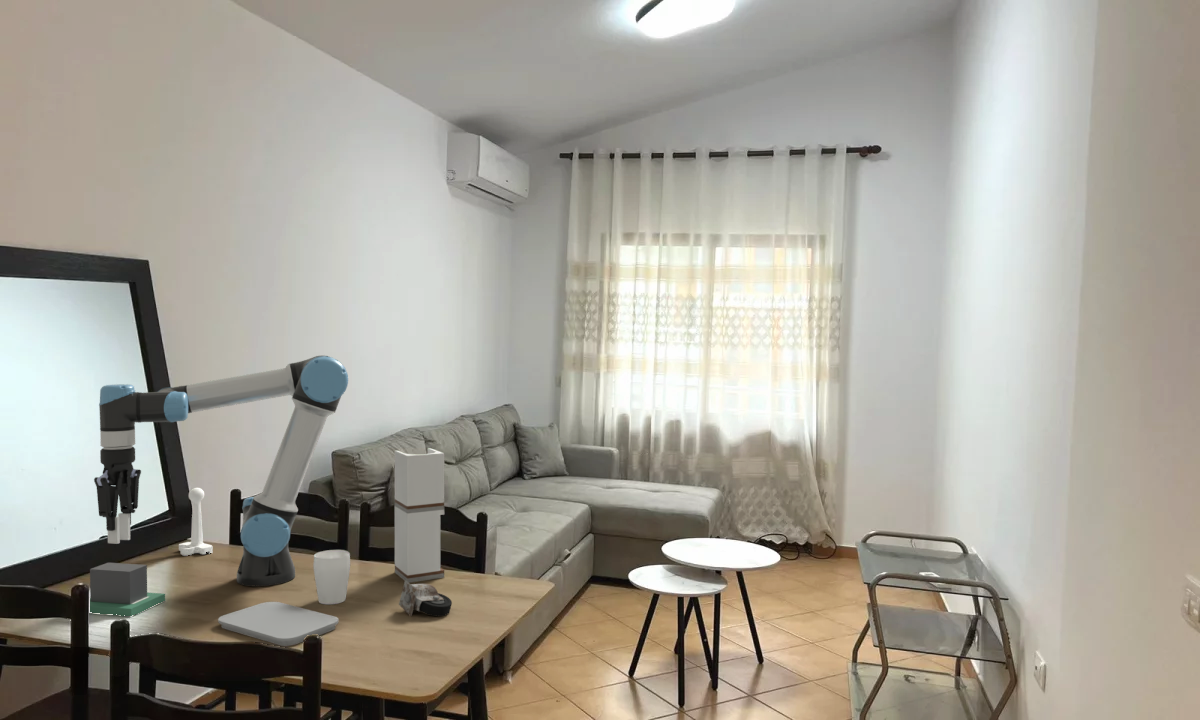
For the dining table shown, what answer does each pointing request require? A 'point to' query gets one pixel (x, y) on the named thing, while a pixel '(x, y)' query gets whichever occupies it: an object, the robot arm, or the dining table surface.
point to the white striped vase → (418, 514)
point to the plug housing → (118, 583)
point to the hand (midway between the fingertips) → (119, 541)
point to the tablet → (278, 622)
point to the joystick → (196, 527)
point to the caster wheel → (424, 600)
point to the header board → (127, 605)
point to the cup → (331, 575)
